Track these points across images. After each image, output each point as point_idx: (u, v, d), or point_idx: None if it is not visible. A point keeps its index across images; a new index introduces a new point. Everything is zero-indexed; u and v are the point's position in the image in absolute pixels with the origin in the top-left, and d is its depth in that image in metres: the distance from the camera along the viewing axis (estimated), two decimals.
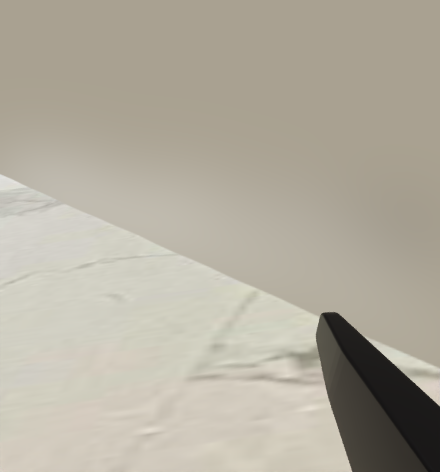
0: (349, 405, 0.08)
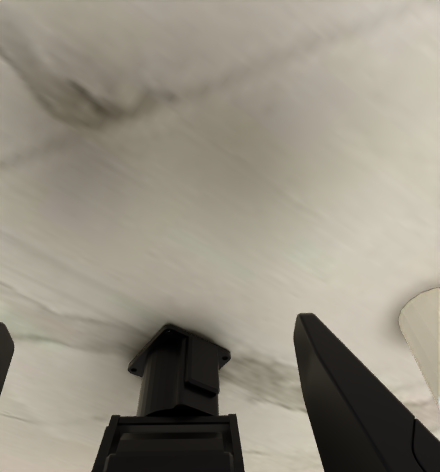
0: (321, 406, 0.08)
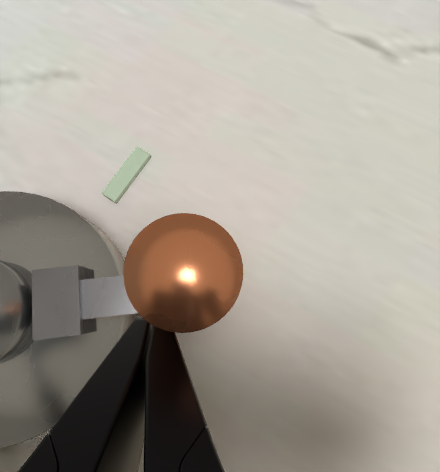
0: None
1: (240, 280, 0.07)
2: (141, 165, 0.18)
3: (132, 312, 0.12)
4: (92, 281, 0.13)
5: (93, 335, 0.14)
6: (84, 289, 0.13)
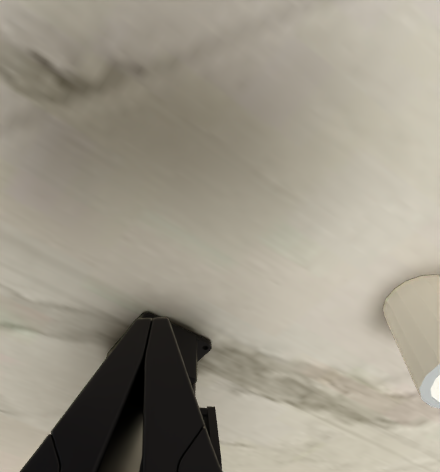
0: None
1: None
2: None
3: None
4: None
5: None
6: None
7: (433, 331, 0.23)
